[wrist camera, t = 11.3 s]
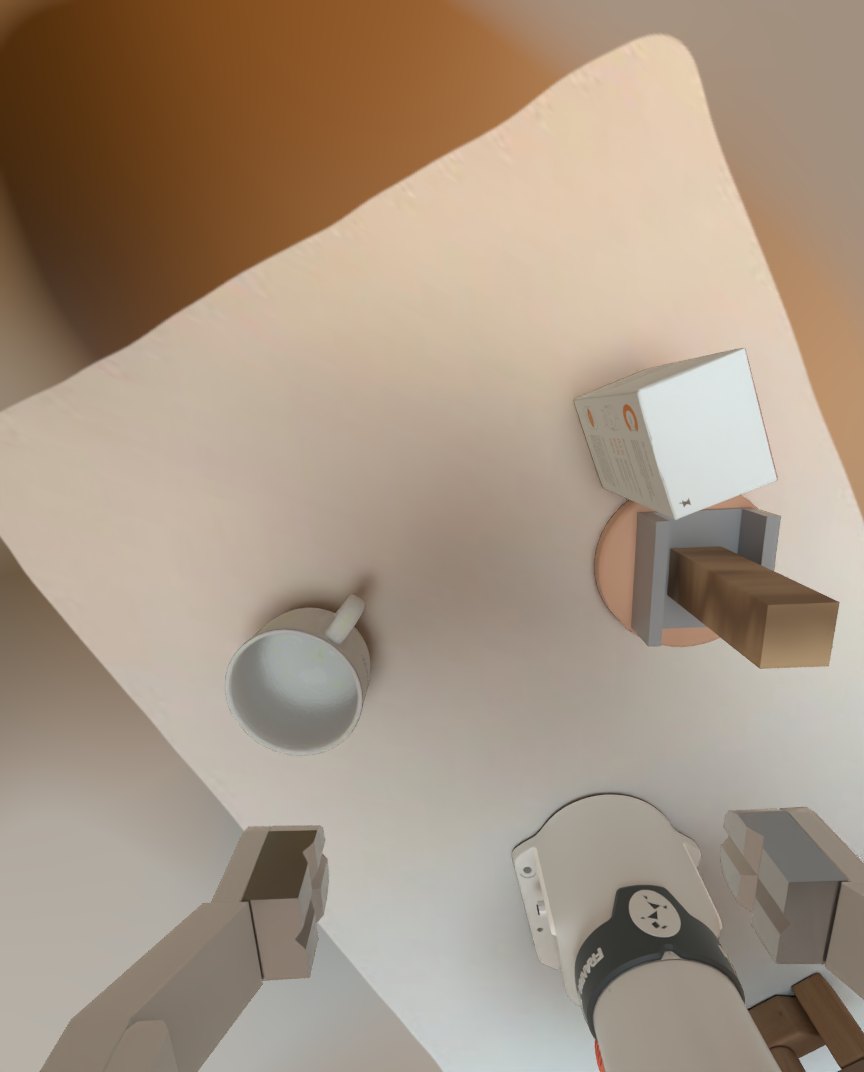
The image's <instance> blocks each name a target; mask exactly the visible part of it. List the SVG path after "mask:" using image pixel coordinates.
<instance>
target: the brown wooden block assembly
mask: <svg viewBox="0 0 864 1072" xmlns="http://www.w3.org/2000/svg"><path fill="white" fill-rule="evenodd" d="M792 989H793V992H794V994H795V995H796V997H787V996H775V997H773V998H771V999H769V1000H767V1001H765V1002H763V1003H761V1004H760V1005H758V1006H756V1007H754V1008H752V1009H750V1010H748V1011H749V1013H750V1015H751V1017H752V1019H753V1021H754V1023H755V1024H756V1026H757V1028H758V1030H759V1032H760V1034H761V1035H762V1037H763V1039H764V1041H765V1043H766V1044H767V1046H768V1048H769V1050H770V1052H771V1053H772V1055H773V1057H774V1059H775V1060H776V1062H777V1064H778V1066H779V1067H780V1069H781V1071H782V1072H806V1071H805V1070H804V1068H803V1066H802V1064H801V1063H800V1061H799V1059H798V1058H800V1057H802V1056H804V1055H806V1054H808V1053H810V1052H812V1051H814V1050H816V1049H818V1048H820V1047H822V1046H824V1045H826V1046H827V1047H828V1049H829V1051H830V1052H831V1054H832V1055H833V1057H834V1059H835V1060H836V1062H837V1063H838V1065H839V1066H840V1068H841V1069H842V1070H840V1071H838V1072H864V1033H863V1031H862V1030H861V1028H860V1027H859V1026H858V1024H857V1023H856V1021H855V1020H854V1018H853V1017H852V1015H851V1014H850V1013H849V1011H848V1010H847V1008H846V1007H845V1005H844V1004H843V1002H842V1001H841V999H840V998H839V997H838V995H837V994H836V992H835V991H834V990H833V988H832V987H831V986H830V985H829V984H828V983H827V981H826V980H825V979H824V978H823V977H822V976H821V975H820V974H815V975H813V976H811V977H809V978H807V979H805V980H803V981H801V982H799V983H798V984H796V985H794V986H793V987H792Z"/></svg>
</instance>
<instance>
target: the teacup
mask: <svg viewBox="0 0 864 1072" xmlns="http://www.w3.org/2000/svg"><path fill="white" fill-rule="evenodd" d="M365 606H366V604H365V602H364V601H363V600H362V599H361V598H359V597H358V596H356V595H349V596H348V598H347V599H346V600H345V601H344V603H343V604H342V605H341V607H340V608H339V610H338V611H337V612H336V613H333V612H331V611H328V610H325V609H320V608H310V607H309V608H299V609H294V610H291V611H288V612H286V613H284V614H281V615H279V616H278V617H276V618H275V619H273V620H272V621H270V622H269V623H268V624H267V625H265V626H264V627H263V628H262V629H261V630H260V631H259V632H258V633H256V634H255V635H254V636H253V637H252V638H251V639H250V640H248V641H247V642H245V643H244V644H243V645H242V646H241V647H240V648H239V649H238V651H237V652H236V653H235V654H234V656H233V657H232V659H231V661H230V663H229V666H228V669H227V672H226V677H225V695H226V699H227V703H228V706H229V709H230V711H231V713H232V714H233V716H234V718H235V720H236V721H237V722H238V724H239V725H240V726H241V728H242V729H243V730H244V731H245V732H246V733H247V734H248V735H249V736H250V737H251V738H252V739H254V740H255V741H256V742H257V743H260V744H262V745H263V746H265V747H267V748H269V749H271V750H273V751H276V752H280V753H284V754H287V755H297V756H306V755H314V754H318V753H322V752H325V751H327V750H330V749H332V748H333V747H335V746H337V745H339V744H340V743H341V742H343V741H344V740H345V739H346V738H347V737H348V736H349V735H350V734H351V733H352V731H353V729H354V728H355V727H356V724H357V722H358V720H359V718H360V715H361V711H362V707H363V701H364V698H365V695H366V692H367V688H368V684H369V679H370V671H371V666H370V656H369V651H368V648H367V645H366V643H365V641H364V639H363V637H362V636H361V634H360V633H359V631H358V630H357V629H356V628H355V627H354V626H355V624H356V623H357V621H358V620H359V618H360V616H361V615H362V613H363V611H364V609H365Z"/></svg>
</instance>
